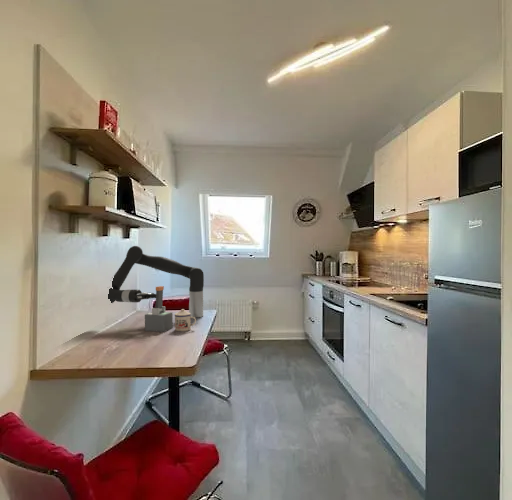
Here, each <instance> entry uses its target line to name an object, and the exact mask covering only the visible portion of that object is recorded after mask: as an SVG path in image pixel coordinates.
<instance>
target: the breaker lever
mask: <svg viewBox="0 0 512 500" xmlns="http://www.w3.org/2000/svg"><path fill="white" fill-rule="evenodd" d="M164 290H165V287H164V286H163V285H158V286H155V294H156V298H155V308H159V312H161V311H163V308H162V306H163V302H164V301H163V300H164V299H163V298H164V297H163V296H164Z"/></svg>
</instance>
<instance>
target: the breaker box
mask: <svg viewBox="0 0 512 500" xmlns="http://www.w3.org/2000/svg"><path fill="white" fill-rule="evenodd" d="M162 308H163V311H161V312H159V308H156V307H152V308H151V312H148V313H146V314H144V332H160V333H161V332H163V333H164V332H167V331H169V330H171V329H173V327H174V324H173V321H174V320H173V316H174V315H173V312H172V311H171V312H168V311H166V306H163V305H162Z"/></svg>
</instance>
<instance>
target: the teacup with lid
mask: <svg viewBox="0 0 512 500" xmlns="http://www.w3.org/2000/svg"><path fill="white" fill-rule="evenodd" d="M190 315H191V314H190V313H189V311H187V310H185V309H184V308H182V309H180V311H177V312H176V313H175V314H174V330H175V331H176V332H188V331H191V328H192V327H191V326H195V324H196V322H197V319H196V318H197V317H190ZM191 319H193V320H194V322H193V323H191Z"/></svg>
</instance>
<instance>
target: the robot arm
mask: <svg viewBox="0 0 512 500" xmlns="http://www.w3.org/2000/svg"><path fill="white" fill-rule="evenodd" d="M135 264H137V265H140V266H141V265H142V266H146V267H149V268H151V269H155V270H158V271H161V272H164V273H167V274H172V275H178V276H182V277H185V278H186V279H189V289H188V290H189V291H188V293H189V295H188V296H189V302H188V312H189V313H190V314H191V315H190V317H195V318H202V317H204V283H205V282H204V279H205V277H204V276H205V275H204V272H203V271H204V270H202V269H201V268H200V267H195V266H189V265H185V264H183V263H180V262H178V261H177V260H174V259H172V258H168V257H166V256H165V257H164V256H156V255H155V256H154V255H153V256H152V255H148V254H145V253H144V252H143V249H142V248H141V247H140V246H138V245H133V246H131V247H130V248H129V249H127V252H126V256H125V259H124V261H122V264H121V265H120V266H119V268H118V269H117V271H115V273H114V275H113V276H114V278H113V277H112V278H113V281H112V287H113V289H112V288H110V287H109V288H110V289H109V294H108V299H110V301H111V303H112V304H114V303H115V302H118V303H123V302H124V303H140V302H141V301H143V300H149V299H150V300H151V299H156V293H154V292H145V291H144V292H142V291H141V290H140V289H121V287H122V286H123V285H124V283H125V281H126V279H127V277H128V276H129V274H130V271H131V270H132V269H133V267H134V265H135Z"/></svg>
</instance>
